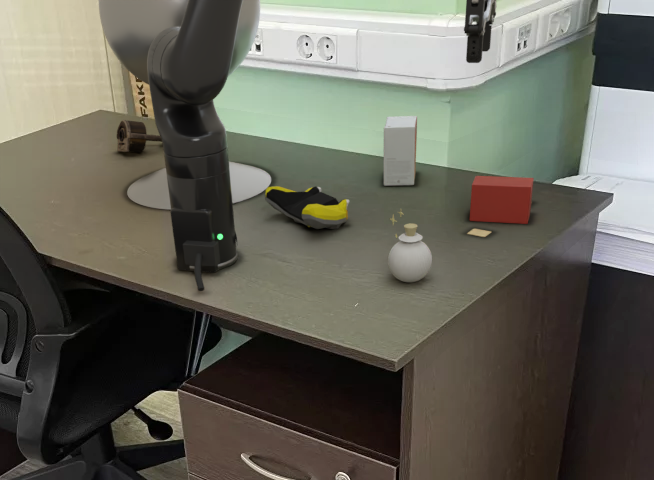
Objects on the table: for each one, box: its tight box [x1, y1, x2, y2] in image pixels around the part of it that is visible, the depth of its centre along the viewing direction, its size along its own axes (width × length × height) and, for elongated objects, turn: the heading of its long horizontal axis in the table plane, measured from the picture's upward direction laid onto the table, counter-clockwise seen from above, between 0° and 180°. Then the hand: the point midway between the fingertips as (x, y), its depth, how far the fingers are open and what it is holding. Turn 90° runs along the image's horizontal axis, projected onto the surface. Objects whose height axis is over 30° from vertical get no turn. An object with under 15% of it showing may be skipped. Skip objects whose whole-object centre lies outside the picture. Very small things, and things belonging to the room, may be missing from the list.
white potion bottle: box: [387, 209, 433, 283], centre depth 119 cm, size 6×7×10 cm
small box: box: [383, 115, 418, 187], centre depth 156 cm, size 8×6×10 cm
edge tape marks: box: [466, 201, 533, 238], centre depth 139 cm, size 17×3×1 cm, turn 141°
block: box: [469, 175, 535, 225], centre depth 138 cm, size 4×9×6 cm, turn 70°
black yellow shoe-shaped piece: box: [264, 185, 350, 230], centre depth 142 cm, size 15×6×10 cm
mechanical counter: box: [116, 119, 162, 153], centre depth 186 cm, size 7×13×10 cm
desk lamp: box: [98, 0, 272, 211], centre depth 153 cm, size 28×28×45 cm
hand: (478, 56), depth 132 cm, fingers open, 8 cm apart
